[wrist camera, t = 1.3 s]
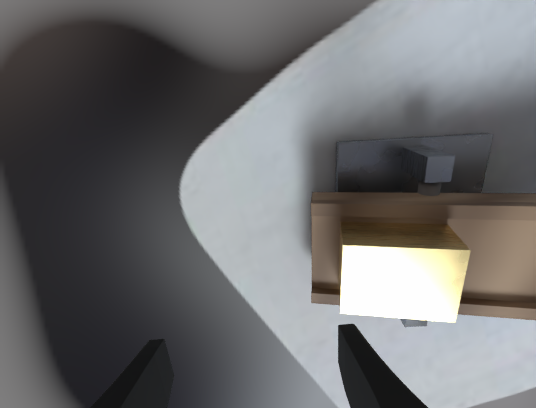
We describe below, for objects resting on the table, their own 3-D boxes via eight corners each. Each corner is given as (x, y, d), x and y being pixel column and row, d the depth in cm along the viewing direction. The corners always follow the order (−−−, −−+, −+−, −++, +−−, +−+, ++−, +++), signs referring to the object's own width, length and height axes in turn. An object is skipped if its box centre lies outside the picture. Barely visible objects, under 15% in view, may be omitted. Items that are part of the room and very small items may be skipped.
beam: (643, 180, 16) (699, 196, 14) (592, 304, 19) (632, 336, 17) (312, 180, 20) (310, 193, 17) (313, 285, 23) (311, 310, 20)
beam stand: (486, 133, 20) (535, 142, 16) (454, 294, 24) (486, 328, 21) (336, 141, 20) (351, 152, 16) (332, 300, 25) (343, 335, 21)
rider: (447, 224, 17) (470, 250, 14) (436, 288, 19) (455, 322, 16) (340, 221, 18) (342, 245, 15) (338, 281, 20) (340, 313, 17)
